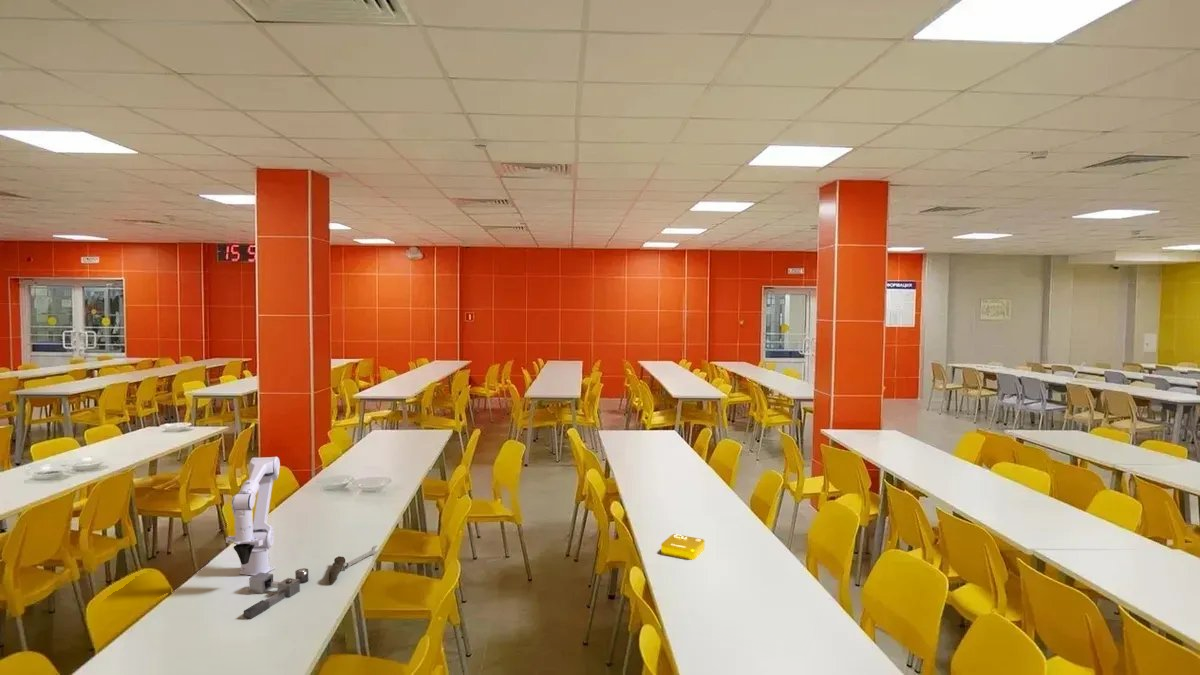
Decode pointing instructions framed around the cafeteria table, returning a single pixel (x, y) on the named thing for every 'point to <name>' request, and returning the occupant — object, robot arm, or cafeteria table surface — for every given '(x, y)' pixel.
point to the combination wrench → (360, 557)
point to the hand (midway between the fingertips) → (244, 563)
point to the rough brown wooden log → (336, 569)
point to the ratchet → (274, 597)
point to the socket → (302, 575)
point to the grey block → (260, 583)
